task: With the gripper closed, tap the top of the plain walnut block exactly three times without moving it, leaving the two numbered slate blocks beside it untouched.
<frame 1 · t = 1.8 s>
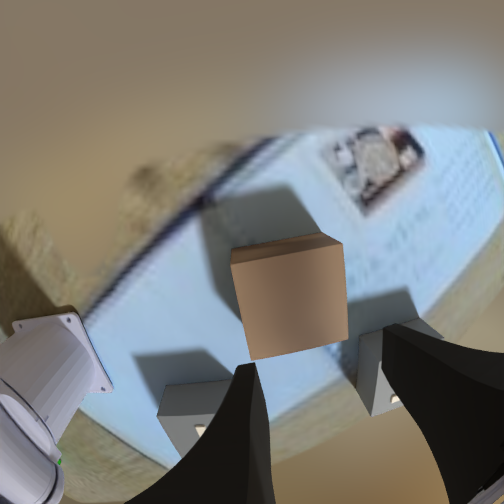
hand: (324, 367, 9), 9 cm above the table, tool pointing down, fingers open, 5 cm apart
walnut block: (283, 282, 19), on the table
slate block 1: (210, 405, 21), on the table
slate block 7: (387, 354, 21), on the table
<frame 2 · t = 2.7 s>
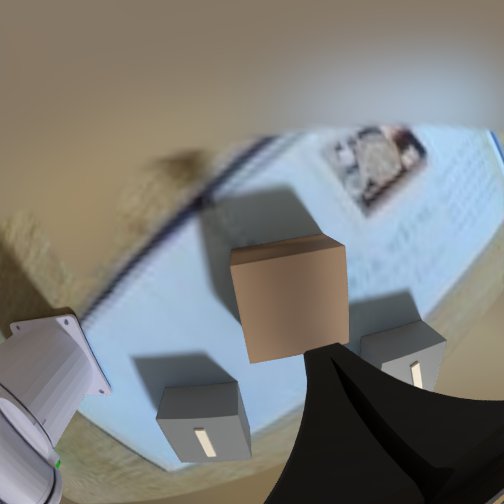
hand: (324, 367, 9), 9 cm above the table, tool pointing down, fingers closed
walnut block: (284, 284, 18), on the table
slate block 1: (209, 408, 21), on the table
slate block 7: (388, 356, 20), on the table
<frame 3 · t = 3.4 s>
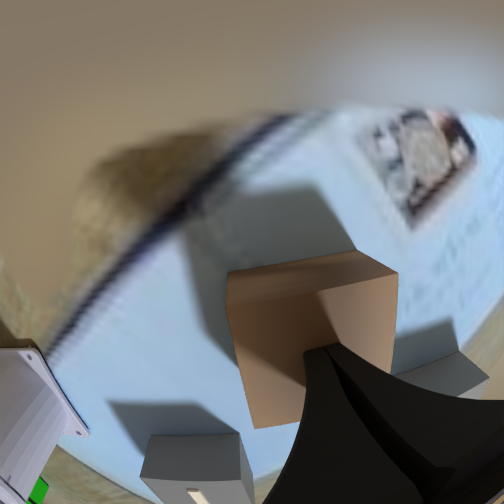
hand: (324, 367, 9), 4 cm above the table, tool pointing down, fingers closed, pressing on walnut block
puzzle cube: (11, 454, 17), on the table
walnut block: (300, 317, 13), on the table, touching gripper
slate block 1: (204, 456, 15), on the table
slate block 7: (418, 393, 15), on the table
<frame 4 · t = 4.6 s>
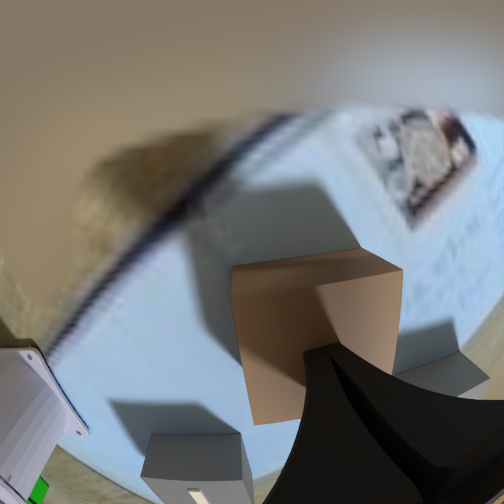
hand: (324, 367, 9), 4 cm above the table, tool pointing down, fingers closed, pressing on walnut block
puzzle cube: (11, 454, 17), on the table
walnut block: (303, 314, 13), on the table, touching gripper
slate block 1: (205, 456, 15), on the table
slate block 7: (418, 393, 15), on the table
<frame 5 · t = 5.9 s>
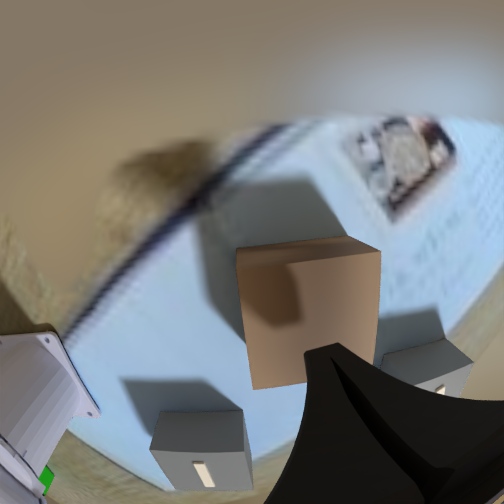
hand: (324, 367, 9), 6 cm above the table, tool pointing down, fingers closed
puzzle cube: (18, 444, 19), on the table
walnut block: (297, 294, 15), on the table
slate block 1: (208, 434, 18), on the table
slate block 7: (407, 376, 17), on the table
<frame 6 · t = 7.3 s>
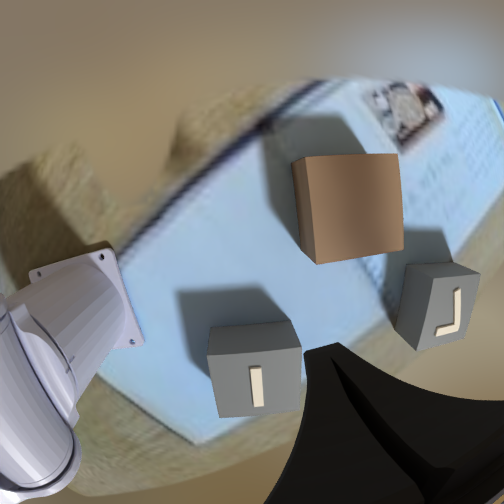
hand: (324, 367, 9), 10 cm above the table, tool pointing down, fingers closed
walnut block: (336, 202, 19), on the table
slate block 1: (253, 355, 21), on the table
slate block 7: (425, 294, 21), on the table
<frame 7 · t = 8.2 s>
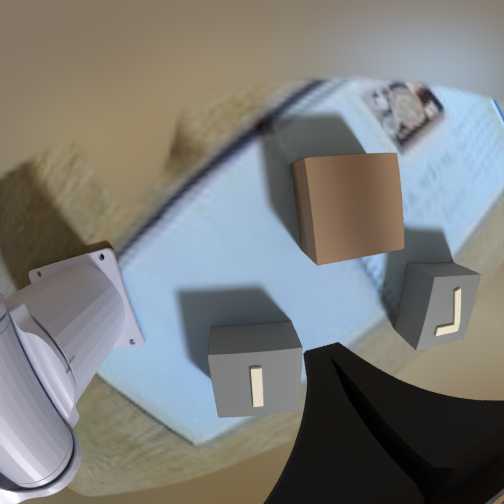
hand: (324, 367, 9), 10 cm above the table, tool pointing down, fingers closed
walnut block: (336, 202, 19), on the table
slate block 1: (253, 355, 21), on the table
slate block 7: (425, 294, 21), on the table
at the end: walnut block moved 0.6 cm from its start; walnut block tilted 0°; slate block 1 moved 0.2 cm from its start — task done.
